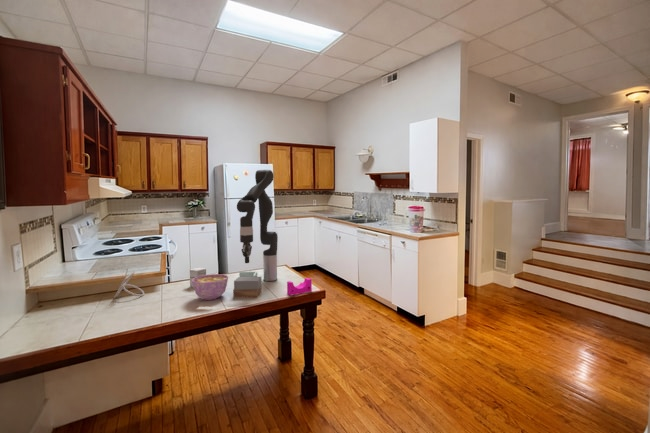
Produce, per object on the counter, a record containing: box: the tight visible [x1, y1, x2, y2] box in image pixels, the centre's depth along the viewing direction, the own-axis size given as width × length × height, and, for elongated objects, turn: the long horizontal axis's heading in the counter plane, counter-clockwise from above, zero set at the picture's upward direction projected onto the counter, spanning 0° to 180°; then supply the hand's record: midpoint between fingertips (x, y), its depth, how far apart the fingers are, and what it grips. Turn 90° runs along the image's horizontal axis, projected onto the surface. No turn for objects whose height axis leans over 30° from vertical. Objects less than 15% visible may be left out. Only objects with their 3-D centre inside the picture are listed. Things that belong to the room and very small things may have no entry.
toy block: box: [286, 277, 313, 296], centre depth 188 cm, size 15×6×8 cm, turn 124°
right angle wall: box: [238, 271, 258, 277], centre depth 206 cm, size 12×12×8 cm
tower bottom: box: [232, 285, 262, 299], centre depth 183 cm, size 10×14×5 cm
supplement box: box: [189, 267, 207, 289], centre depth 199 cm, size 7×7×13 cm
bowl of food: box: [192, 273, 229, 301], centre depth 178 cm, size 20×20×12 cm
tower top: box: [233, 276, 262, 290], centre depth 183 cm, size 10×14×5 cm
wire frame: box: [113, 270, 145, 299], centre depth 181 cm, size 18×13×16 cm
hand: (247, 262), depth 182 cm, fingers closed
